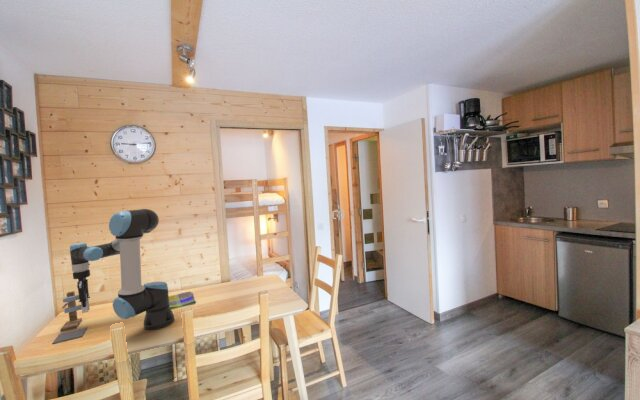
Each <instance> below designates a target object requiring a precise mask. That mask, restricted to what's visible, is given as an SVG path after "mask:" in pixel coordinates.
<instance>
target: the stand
mask: <svg viewBox="0 0 640 400" xmlns="http://www.w3.org/2000/svg"><path fill="white" fill-rule="evenodd" d="M75 293H76V292H75V290H73V291H68V292H67V293H66V297H71V296H76V294H75ZM76 301H77V300H74V301H69V302H65V304H64V305H63V306H62V309H66V306H67V308H70V307H74V306H77V303H76ZM68 319H69V320H67V321H66V322H65V323H64V324H63V326H62V327H61V328H60V330H59V331H60V333H65V332H69V331H74V330H78V329H77V328H78V327H79V325H80V324H81V322H82V321H83V318H82V317H79V318H78V313H77V311H73V312H69V313H68Z"/></svg>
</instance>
